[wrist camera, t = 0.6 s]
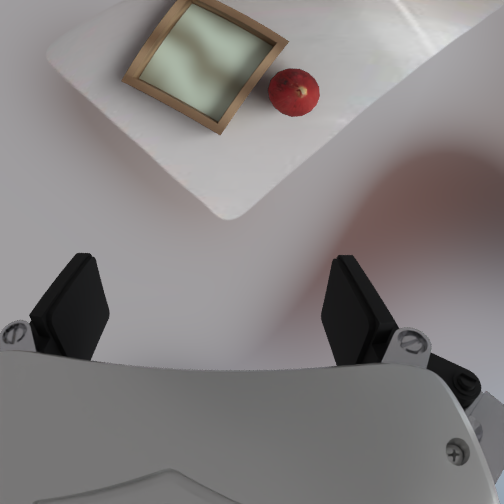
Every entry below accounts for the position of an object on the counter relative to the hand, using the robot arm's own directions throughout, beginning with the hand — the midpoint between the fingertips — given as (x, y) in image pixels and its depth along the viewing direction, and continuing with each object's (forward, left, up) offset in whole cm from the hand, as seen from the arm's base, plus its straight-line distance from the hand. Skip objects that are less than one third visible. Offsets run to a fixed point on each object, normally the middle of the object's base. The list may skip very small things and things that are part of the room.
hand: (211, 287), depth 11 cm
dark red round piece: (-11, +2, -29) cm, 31 cm away
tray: (-9, -9, -29) cm, 32 cm away
